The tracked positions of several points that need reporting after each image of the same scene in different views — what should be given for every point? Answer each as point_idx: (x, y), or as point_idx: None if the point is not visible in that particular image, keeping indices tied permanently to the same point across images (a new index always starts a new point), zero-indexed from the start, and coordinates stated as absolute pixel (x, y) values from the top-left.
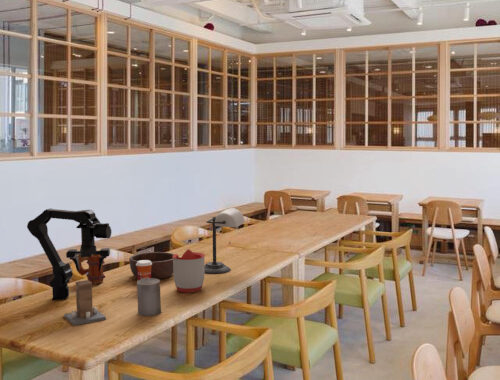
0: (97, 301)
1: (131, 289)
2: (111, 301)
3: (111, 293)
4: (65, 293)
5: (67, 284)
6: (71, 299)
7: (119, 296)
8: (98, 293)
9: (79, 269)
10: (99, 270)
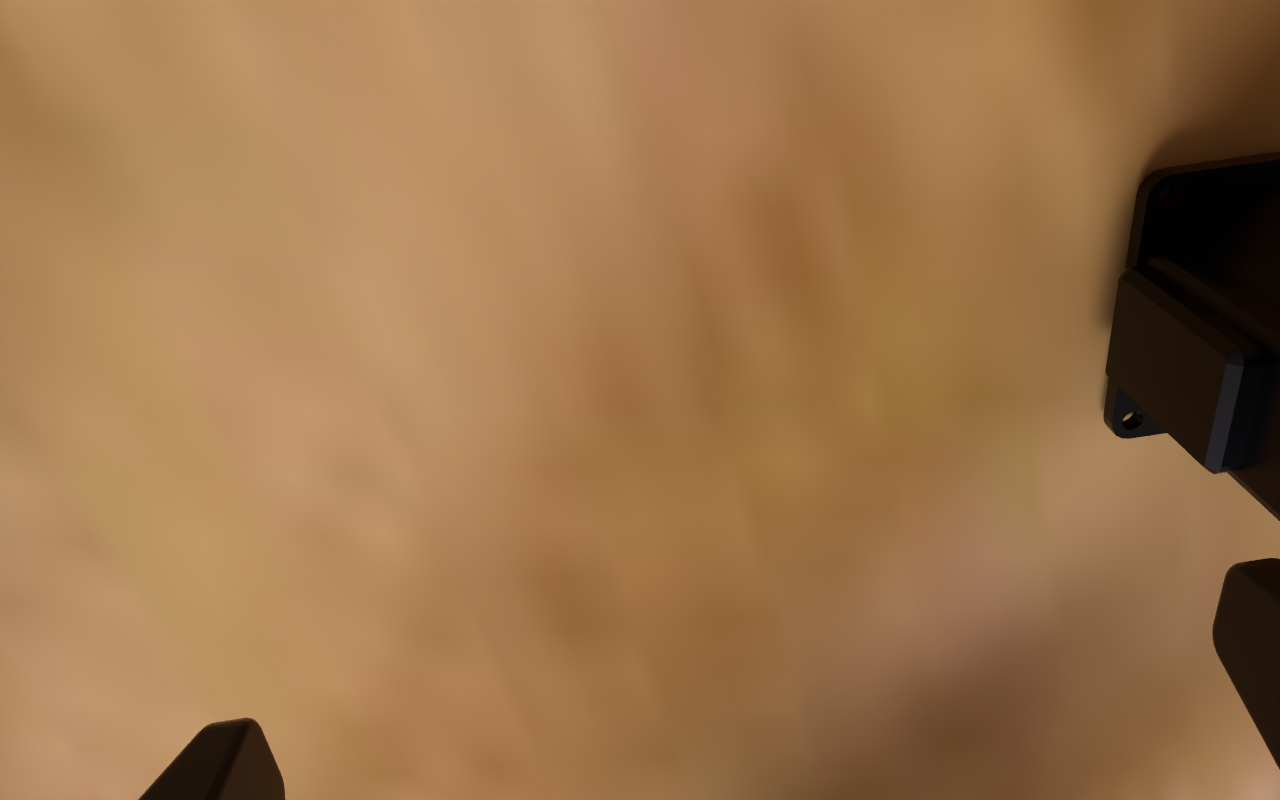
0: (392, 27)
1: (32, 785)
2: (22, 22)
3: (308, 573)
4: (1217, 280)
5: (1274, 504)
6: (1028, 186)
7: (35, 404)
8: (566, 562)
9: (1261, 728)
10: (202, 743)
